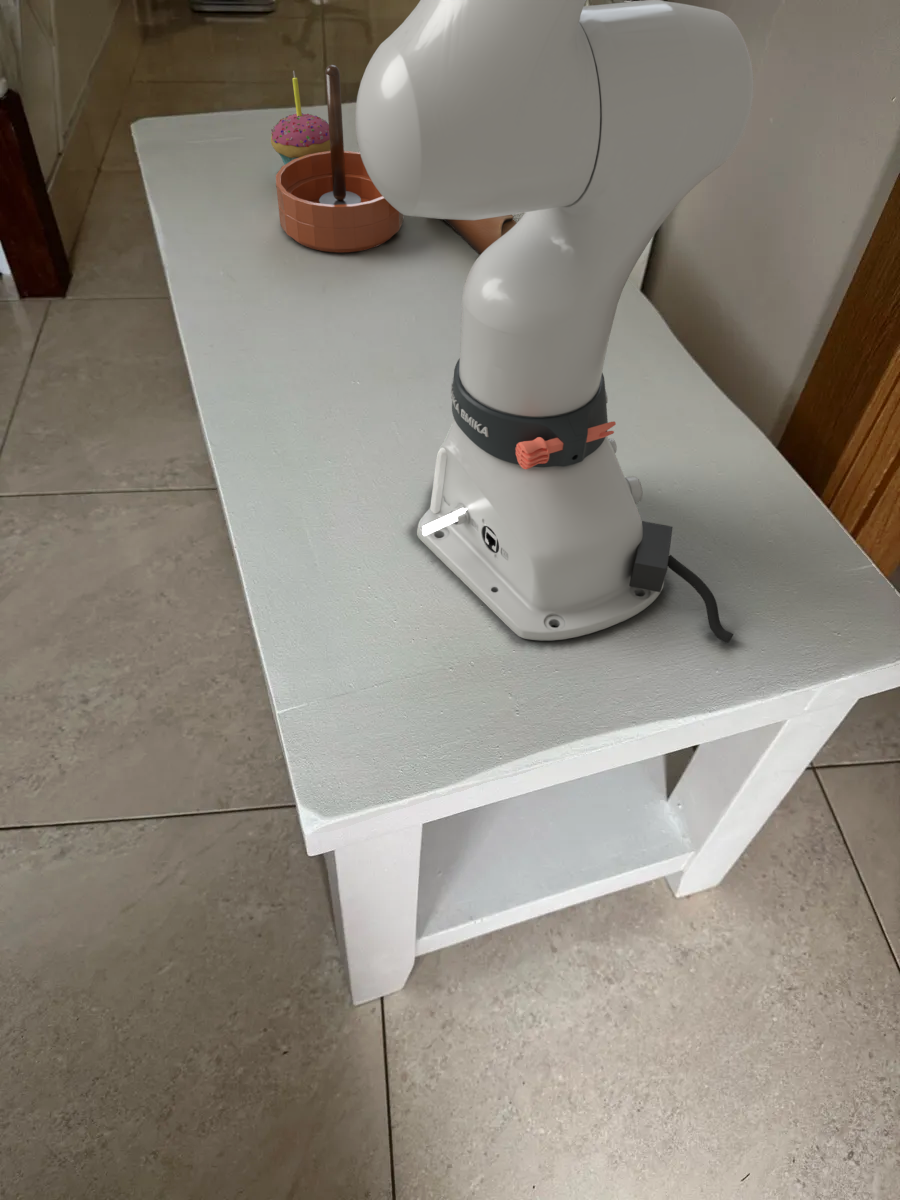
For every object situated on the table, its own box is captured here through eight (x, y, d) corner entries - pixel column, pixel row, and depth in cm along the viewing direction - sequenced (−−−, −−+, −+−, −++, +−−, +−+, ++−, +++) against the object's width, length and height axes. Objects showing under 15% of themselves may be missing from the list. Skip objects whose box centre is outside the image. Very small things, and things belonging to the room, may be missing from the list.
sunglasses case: (556, 260, 112) (536, 219, 106) (510, 298, 112) (488, 259, 107) (485, 197, 122) (464, 157, 117) (443, 232, 123) (420, 194, 118)
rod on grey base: (368, 224, 116) (362, 70, 103) (329, 231, 114) (318, 76, 101) (352, 206, 119) (345, 54, 106) (314, 213, 117) (301, 60, 104)
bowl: (422, 241, 115) (422, 193, 110) (305, 265, 110) (301, 216, 106) (374, 189, 124) (373, 143, 119) (265, 209, 119) (259, 162, 115)
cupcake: (267, 163, 128) (256, 68, 119) (326, 154, 131) (320, 60, 122) (284, 190, 123) (274, 92, 114) (345, 180, 125) (340, 84, 116)
